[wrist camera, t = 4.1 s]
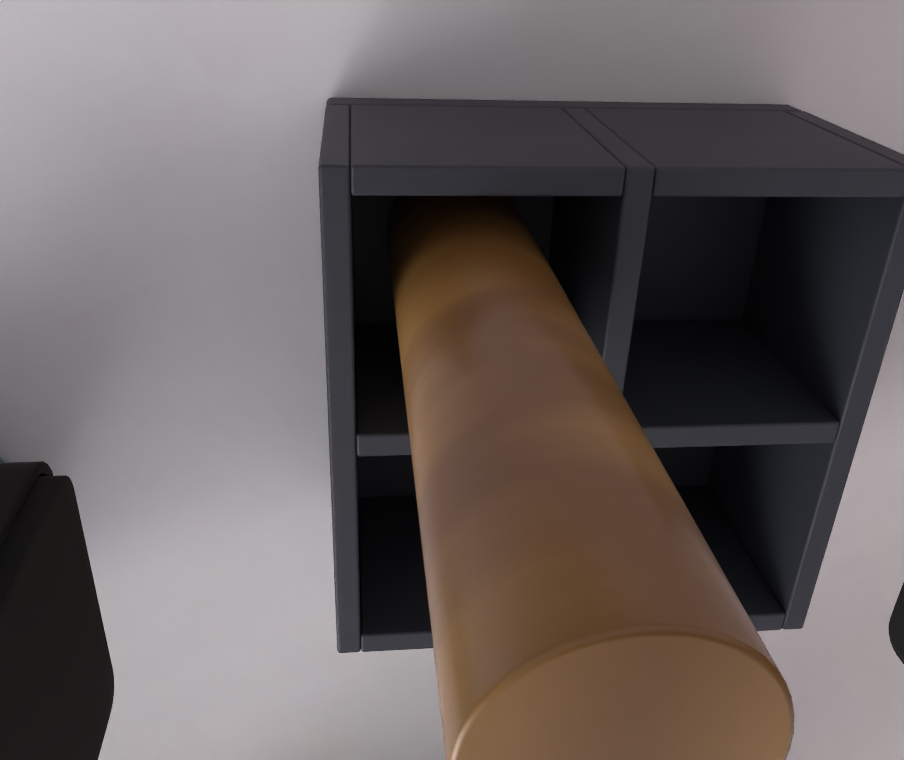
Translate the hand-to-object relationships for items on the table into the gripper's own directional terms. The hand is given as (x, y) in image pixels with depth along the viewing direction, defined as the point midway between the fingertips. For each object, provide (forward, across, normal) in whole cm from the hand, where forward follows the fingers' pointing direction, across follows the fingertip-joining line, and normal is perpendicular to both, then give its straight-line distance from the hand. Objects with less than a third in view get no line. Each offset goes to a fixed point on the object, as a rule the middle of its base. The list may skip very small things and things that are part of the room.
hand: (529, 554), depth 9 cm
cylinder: (+12, -1, 0) cm, 12 cm away
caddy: (+12, -3, +3) cm, 13 cm away
